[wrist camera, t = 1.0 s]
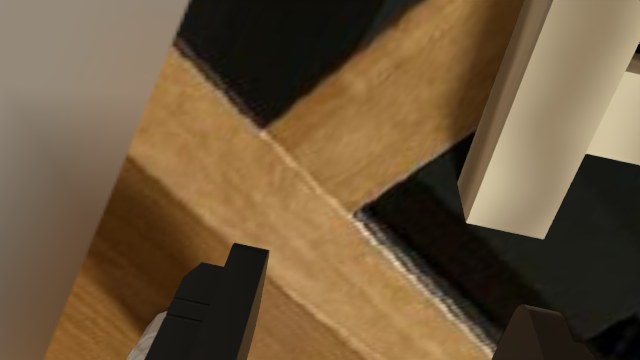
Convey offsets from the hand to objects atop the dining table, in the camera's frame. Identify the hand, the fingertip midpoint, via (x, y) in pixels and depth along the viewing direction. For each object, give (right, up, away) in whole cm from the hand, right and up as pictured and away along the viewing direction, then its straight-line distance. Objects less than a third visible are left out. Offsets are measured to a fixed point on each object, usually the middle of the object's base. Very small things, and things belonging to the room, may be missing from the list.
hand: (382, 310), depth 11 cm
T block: (+14, +7, +17) cm, 23 cm away
